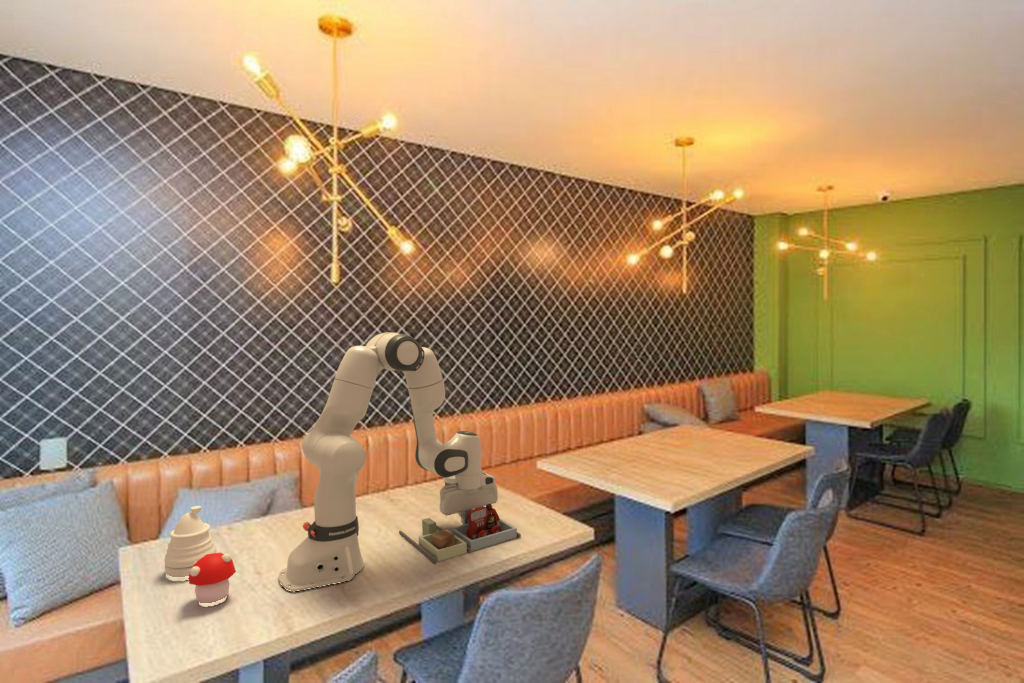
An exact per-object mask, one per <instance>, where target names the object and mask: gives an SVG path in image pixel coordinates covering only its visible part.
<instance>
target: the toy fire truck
mask: <svg viewBox="0 0 1024 683" xmlns="http://www.w3.org/2000/svg"><path fill="white" fill-rule="evenodd" d="M467 519H468V521H469V528H468V529H467V532H466V535H465V536H466V537H468V538H469V539H471V540H474V539H478V538H481V537H485V536H488V535H491V534H495V533H498V532H502V529H501V527H500V516H499V513H498V512H497V510H496V508H494V507H493V504H487V505H486V506H482V507H479V508H476V509H472V510H470V511H468V513H467Z"/></svg>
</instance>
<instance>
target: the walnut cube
mask: <svg viewBox="0 0 1024 683" xmlns="http://www.w3.org/2000/svg"><path fill="white" fill-rule="evenodd" d="M448 531H449V530H448ZM448 531H446V529H443V530H442V531H437V533H434V534H431V544H432V545H433V546H434V547H436V548H437V549H438V550H440V549H443V548H446V547H450V546H453V545H455V534H453V533H451V531H450V532H448Z"/></svg>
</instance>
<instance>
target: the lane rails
mask: <svg viewBox="0 0 1024 683" xmlns="http://www.w3.org/2000/svg"><path fill="white" fill-rule="evenodd" d="M436 528H437V532H439V531H442V530H444V529H443V528H442V527H440V526H439V525H437V524H436ZM399 534H400V535H401V538H403V537H404V538H405V539H406V542H408V543H409V544H410V545H411V544H412V545H411V546H413V547H414V548H415V549H417V551H418V552H420V553H421V554H422V555H423V554H424V555H423V556H424V557H425V558H427V559H428V560H429V561H431V562H432V563H433V564H435V565H436V564H437V561H436V558H434V557H433V556H432V555H431V554H429V553H428V552H427V551H426V550H424V549H423V548H422V547H421V546H420V545H419V543H417V542H416V541H415V540H413V539H412V538H411V537H410V536H409V535H408V534H406V533H405V532H403V530H399V531H398V535H399ZM400 535H399V536H400ZM517 536H518V537H522V534H521V533H519V531H517ZM518 537H517V538H518ZM404 538H403V539H404ZM405 539H404V540H405ZM467 553H468V554H471V553H472V551H471V549H470V548H469V547H467Z"/></svg>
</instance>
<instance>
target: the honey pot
mask: <svg viewBox="0 0 1024 683" xmlns="http://www.w3.org/2000/svg"><path fill="white" fill-rule="evenodd" d="M201 510H202V506H201V505H194V506H191V507H190V512H186V513H184V514H183V515H182V516H181V517H180V519H179V520H178V521H177V523H176V525H175V527H174V529H173V530H171V531H170V532H169V537H170V541H169V543H168V545H167V549H166V553H165V556H164V574H165V573H166V574H167V575H169V576H172V577H185V576H189V572H190V570H191V568H192V566H193V563H194V562H196V561H198V560H199V559H201V558H202V557H203V556H205V555H206V554H213V553H218V552H217V546H216V544H215V543H214V540H213V538H212V537H213V536H212V535H211V534H210V532H209V531H210V530H211V525H210V524H209V523H206V522H203V520H201V518H200V517H199V515H198V514H200V512H201Z"/></svg>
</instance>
